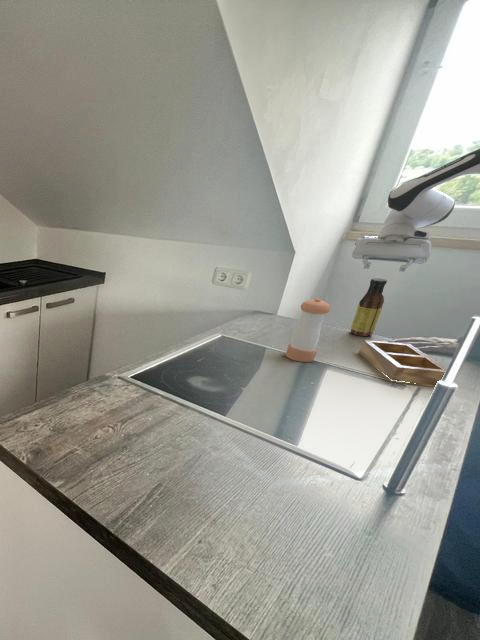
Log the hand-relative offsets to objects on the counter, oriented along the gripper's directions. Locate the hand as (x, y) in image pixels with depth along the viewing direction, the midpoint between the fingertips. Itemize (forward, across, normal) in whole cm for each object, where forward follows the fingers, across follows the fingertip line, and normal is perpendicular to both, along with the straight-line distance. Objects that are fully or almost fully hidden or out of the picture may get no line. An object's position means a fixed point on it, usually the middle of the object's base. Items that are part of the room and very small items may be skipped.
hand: (383, 269), depth 139 cm
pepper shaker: (+51, -12, -20) cm, 56 cm away
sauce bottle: (+24, 0, +7) cm, 25 cm away
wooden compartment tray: (+45, +10, -14) cm, 48 cm away
